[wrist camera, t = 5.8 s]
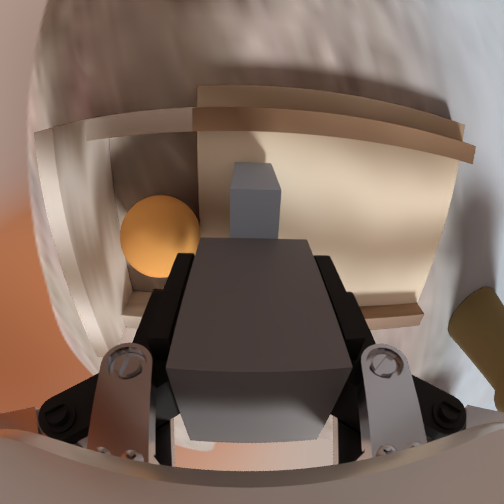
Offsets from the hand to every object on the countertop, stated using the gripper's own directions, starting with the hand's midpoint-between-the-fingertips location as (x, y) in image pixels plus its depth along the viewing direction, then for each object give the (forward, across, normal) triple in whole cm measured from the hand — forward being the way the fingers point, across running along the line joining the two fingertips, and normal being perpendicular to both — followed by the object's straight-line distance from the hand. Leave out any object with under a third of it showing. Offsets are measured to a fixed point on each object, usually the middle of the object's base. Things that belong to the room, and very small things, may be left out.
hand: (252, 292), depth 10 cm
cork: (+6, -20, +8) cm, 23 cm away
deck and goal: (+6, 0, 0) cm, 6 cm away
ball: (+4, +4, 0) cm, 6 cm away
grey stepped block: (+5, 0, 0) cm, 5 cm away
